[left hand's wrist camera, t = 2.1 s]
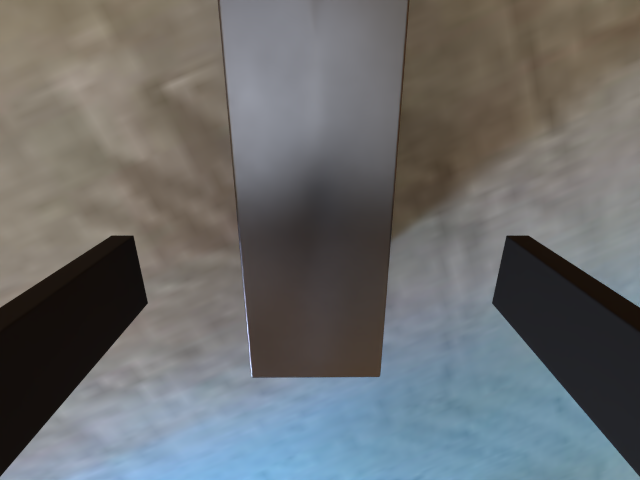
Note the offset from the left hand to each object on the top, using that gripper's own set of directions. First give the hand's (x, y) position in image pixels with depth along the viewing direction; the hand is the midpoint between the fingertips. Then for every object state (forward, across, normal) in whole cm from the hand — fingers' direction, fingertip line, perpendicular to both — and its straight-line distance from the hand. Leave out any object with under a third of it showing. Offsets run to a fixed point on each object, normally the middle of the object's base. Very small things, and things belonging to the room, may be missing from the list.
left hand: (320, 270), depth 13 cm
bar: (+9, 0, -7) cm, 11 cm away
